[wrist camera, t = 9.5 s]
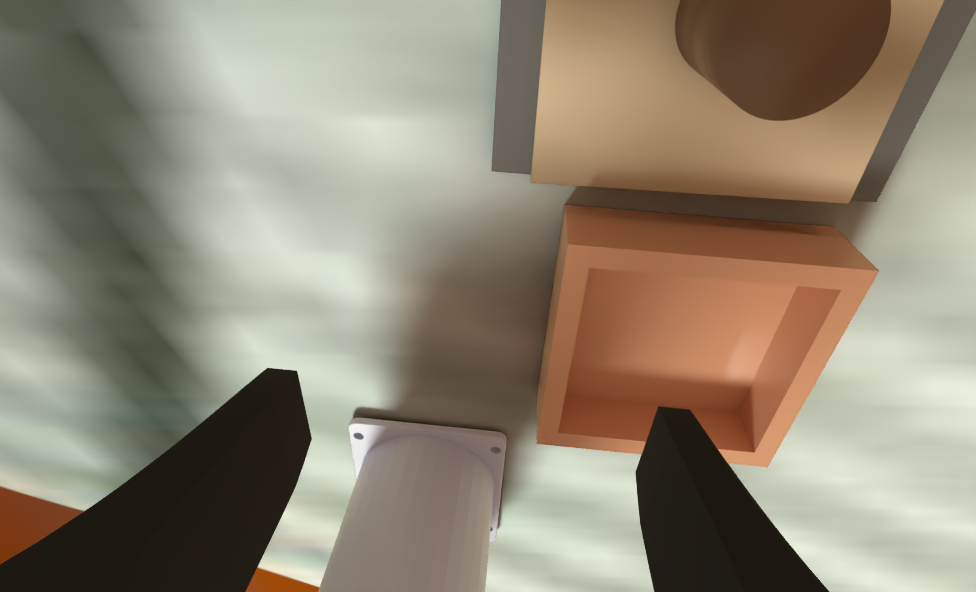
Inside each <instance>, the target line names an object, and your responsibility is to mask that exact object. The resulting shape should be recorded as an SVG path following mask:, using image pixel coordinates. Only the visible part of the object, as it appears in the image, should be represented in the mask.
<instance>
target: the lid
mask: <svg viewBox="0 0 976 592" xmlns="http://www.w3.org/2000/svg"><path fill="white" fill-rule="evenodd" d="M943 2H944V0H546V9H545V21H544V32H543V44H542V55H541V67H540V79H539V90H538V102H537V113H536V125H535V137H534V148H533V160H532V171H531V183H543V184H559V185H574V186H589V187H604V188H619V189H634V190H649V191H664V192H680V193H695V194H710V195H725V196H740V197H755V198H770V199H785V200H801V201H816V202H831V203H846V204H849V203H850V200H851V198H852V196H853V194H854V192H855V190H856V188H857V186H858V183H859V181H860V179H861V177H862V175H863V173H864V171H865V168H866V166H867V164H868V162H869V160H870V158H871V156H872V154H873V151H874V149H875V147H876V145H877V143H878V141H879V139H880V136H881V134H882V132H883V130H884V128H885V126H886V124H887V122H888V119H889V117H890V115H891V113H892V111H893V109H894V107H895V104H896V102H897V100H898V98H899V96H900V94H901V92H902V90H903V87H904V85H905V83H906V81H907V79H908V77H909V75H910V72H911V70H912V68H913V66H914V64H915V62H916V60H917V58H918V55H919V53H920V51H921V49H922V47H923V45H924V43H925V40H926V38H927V36H928V34H929V32H930V30H931V28H932V26H933V23H934V21H935V19H936V17H937V15H938V13H939V11H940V8H941V6H942V4H943Z"/></svg>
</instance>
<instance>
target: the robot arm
mask: <svg viewBox="0 0 976 592" xmlns="http://www.w3.org/2000/svg"><path fill="white" fill-rule="evenodd" d="M348 430H349V436H350V443H351V449H352V456H353V462H354V469H355V475H356V483H355V486H354V489H353V492H352V495H351V498H350V501H349V504H348V507H347V510H346V513H345V515H344V518H343V521H342V524H341V527H340V530H339V533H338V536H337V539H336V542H335V545H334V547H333V550H332V553H331V556H330V559H329V562H328V565H327V568H326V571H325V574H324V577H323V579H322V582H321V585H320V588H319V591H318V592H485V586H486V574H487V563H488V551H489V542H493V541H495V540H496V535H497V526H498V516H499V507H500V498H501V488H502V479H503V469H504V460H505V451H506V440H507V439H506V436H505V435H504V434H503V433H501V432H497V431H487V430H478V429H468V428H458V427H448V426H438V425H428V424H418V423H408V422H399V421H389V420H379V419H369V418H353V419H352V420H351V421H350V423H349V426H348ZM311 439H312V438H311V433H310V429H309V424H308V420H307V415H306V410H305V406H304V401H303V397H302V392H301V387H300V383H299V378H298V374H297V371H293V370H283V369H272V368H267V369H266V370H264V371H263V372H262V373H261V374H260V375H258V376H257V377H256V378H255V379H253V380H252V381H251V382H250V383H249V384H247V385H246V386H245V387H244V388H243V389H241V390H240V391H239V392H238V393H237V394H235V395H234V396H233V397H232V398H231V399H230V400H228V401H227V402H226V403H225V404H224V405H222V406H221V407H220V408H219V409H218V410H216V411H215V412H214V413H213V414H212V415H210V416H209V417H208V418H207V419H206V420H204V421H203V422H202V423H201V424H200V425H198V426H197V427H196V428H195V429H193V430H192V431H191V432H190V433H188V434H187V435H186V436H185V437H184V438H182V439H181V440H180V441H179V442H177V443H176V444H175V445H174V446H172V447H171V448H170V449H169V450H167V451H166V452H165V453H164V454H162V455H161V456H160V457H158V458H157V459H156V460H154V461H153V462H152V463H150V464H149V465H148V466H146V467H145V468H144V469H143V470H141V471H140V472H139V473H137V474H136V475H135V476H133V477H132V478H131V479H129V480H128V481H127V482H125V483H124V484H123V485H121V486H120V487H119V488H117V489H116V490H114V491H113V492H112V493H110V494H109V495H107V496H106V497H105V498H103V499H102V500H100V501H99V502H97V503H96V504H95V505H93V506H92V507H90V508H89V509H87V510H86V511H84V512H83V513H81V514H80V515H78V516H77V517H75V518H74V519H72V520H71V521H69V522H68V523H66V524H65V525H63V526H62V527H60V528H59V529H57V530H56V531H54V532H53V533H51V534H49V535H48V536H46V537H45V538H43V539H42V540H40V541H39V542H37V543H35V544H34V545H32V546H31V547H29V548H27V549H25V550H24V551H22V552H20V553H19V554H17V555H15V556H14V557H12V558H10V559H9V560H7V561H5V562H4V563H2V564H0V592H245V591H246V589H247V587H248V585H249V583H250V581H251V579H252V577H253V575H254V573H255V571H256V568H257V567H258V564H259V562H260V560H261V558H262V556H263V554H264V552H265V550H266V548H267V546H268V544H269V542H270V540H271V537H272V535H273V533H274V531H275V529H276V527H277V525H278V523H279V521H280V519H281V517H282V514H283V512H284V510H285V508H286V506H287V504H288V502H289V500H290V498H291V495H292V493H293V491H294V489H295V487H296V484H297V481H298V478H299V475H300V473H301V470H302V467H303V464H304V461H305V458H306V455H307V452H308V449H309V445H310V442H311ZM636 482H637V495H638V506H639V516H640V524H641V529H642V535H643V540H644V544H645V549H646V554H647V559H648V564H649V569H650V573H651V578H652V583H653V588H654V592H829V591H828V590H827V588H826V587H825V586H824V585H823V584H822V583H821V582H820V580H819V579H818V578H817V577H816V576H815V575H814V573H813V572H812V571H811V570H810V569H809V568H808V566H807V565H806V564H805V563H804V562H803V560H802V559H801V558H800V557H799V555H798V554H797V553H796V552H795V551H794V549H793V548H792V547H791V546H790V545H789V543H788V542H787V541H786V540H785V538H784V537H783V536H782V535H781V533H780V532H779V531H778V530H777V528H776V527H775V526H774V525H773V523H772V522H771V521H770V519H769V518H768V517H767V515H766V514H765V513H764V511H763V510H762V509H761V508H760V506H759V505H758V504H757V502H756V501H755V500H754V498H753V497H752V496H751V494H750V493H749V492H748V490H747V489H746V488H745V486H744V485H743V484H742V482H741V481H740V480H739V478H738V477H737V475H736V474H735V473H734V471H733V470H732V468H731V467H730V466H729V464H728V463H727V461H726V460H725V459H724V457H723V456H722V454H721V453H720V451H719V450H718V449H717V447H716V446H715V444H714V443H713V441H712V440H711V439H710V437H709V436H708V434H707V433H706V431H705V430H704V428H703V427H702V425H701V424H700V423H699V421H698V420H697V418H696V417H695V415H694V414H693V413H692V412H691V410H690V409H681V408H670V407H660V406H658V408H657V411H656V414H655V417H654V420H653V423H652V426H651V429H650V432H649V435H648V438H647V440H646V443H645V446H644V449H643V452H642V455H641V458H640V461H639V464H638V467H637V470H636Z"/></svg>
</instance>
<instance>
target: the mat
mask: <svg viewBox="0 0 976 592" xmlns="http://www.w3.org/2000/svg"><path fill="white" fill-rule="evenodd" d="M545 9H546V0H501V15H500V33H499V51H498V68H497V86H496V104H495V121H494V139H493V157H492V171H496V172H508V173H521V174H531V171H532V160H533V148H534V137H535V125H536V113H537V102H538V90H539V79H540V67H541V55H542V44H543V32H544V21H545ZM975 10H976V0H944V2H943V4H942V6H941V8H940V11H939V13H938V15H937V17H936V19H935V21H934V23H933V26H932V28H931V30H930V32H929V34H928V36H927V38H926V40H925V43H924V45H923V47H922V49H921V51H920V53H919V55H918V58H917V60H916V62H915V64H914V66H913V68H912V70H911V72H910V75H909V77H908V79H907V81H906V83H905V85H904V87H903V90H902V92H901V94H900V96H899V98H898V100H897V102H896V104H895V107H894V109H893V111H892V113H891V115H890V117H889V119H888V122H887V124H886V126H885V128H884V130H883V132H882V134H881V136H880V139H879V141H878V143H877V145H876V147H875V149H874V151H873V154H872V156H871V158H870V160H869V162H868V164H867V166H866V168H865V171H864V173H863V175H862V177H861V179H860V181H859V183H858V186H857V188H856V190H855V192H854V194H853V196H852V198H851V200H858V201H870V202H877V200H878V198H879V196H880V194H881V192H882V190H883V188H884V186H885V184H886V182H887V180H888V178H889V176H890V174H891V173H892V171H893V169H894V167H895V165H896V163H897V161H898V159H899V157H900V155H901V153H902V151H903V149H904V147H905V146H906V144H907V142H908V140H909V138H910V136H911V134H912V132H913V130H914V128H915V126H916V124H917V122H918V120H919V118H920V117H921V115H922V113H923V111H924V109H925V107H926V105H927V103H928V101H929V99H930V97H931V95H932V93H933V91H934V90H935V88H936V86H937V84H938V82H939V80H940V78H941V76H942V74H943V72H944V70H945V68H946V66H947V64H948V63H949V61H950V59H951V57H952V55H953V53H954V51H955V49H956V47H957V45H958V43H959V41H960V39H961V37H962V35H963V34H964V32H965V30H966V28H967V26H968V24H969V22H970V20H971V18H972V16H973V14H974V12H975Z"/></svg>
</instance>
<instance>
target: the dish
mask: <svg viewBox="0 0 976 592" xmlns="http://www.w3.org/2000/svg"><path fill="white" fill-rule="evenodd" d="M878 272H879V270H878V269H877V268H876V267H875V266H874V265H873V264H872V263H871V262H870V261H869V260H867V259H866V258H865V257H864V256H863V255H862V254H861V253H860V252H859V251H858V250H857V249H856V248H855V247H854V246H853V245H852V244H851V243H850V242H849V241H848V240H847V239H846V238H845V237H844V236H843V235H842V234H841V233H840V232H839V231H838V230H837V229H836V228H835V227H830V226H818V225H806V224H794V223H782V222H769V221H757V220H745V219H733V218H721V217H709V216H697V215H684V214H672V213H660V212H648V211H636V210H624V209H612V208H599V207H587V206H575V205H564V212H563V218H562V225H561V232H560V239H559V246H558V253H557V259H556V266H555V273H554V280H553V287H552V294H551V301H550V307H549V314H548V321H547V328H546V335H545V342H544V349H543V355H542V362H541V369H540V376H539V383H538V390H537V444H545V445H555V446H565V447H575V448H585V449H594V450H604V451H614V452H624V453H634V454H642V452H643V449H644V446H645V443H646V440H647V438H648V435H649V432H650V429H651V426H652V423H653V420H654V417H655V414H656V411H657V408H658V406H660V407H670V408H681V409H690V410H691V412H692V413H693V414H694V415H695V417H696V418H697V420H698V421H699V423H700V424H701V425H702V427H703V428H704V430H705V431H706V433H707V434H708V436H709V437H710V439H711V440H712V441H713V443H714V444H715V446H716V447H717V449H718V450H719V451H720V453H721V454H722V456H723V457H724V459H725V460H726V461H727V463H732V464H741V465H751V466H761V467H768V466H769V464H770V462H771V460H772V459H773V457H774V455H775V453H776V452H777V450H778V448H779V446H780V445H781V443H782V441H783V439H784V438H785V436H786V434H787V432H788V431H789V429H790V427H791V425H792V423H793V422H794V420H795V418H796V416H797V415H798V413H799V411H800V409H801V408H802V406H803V404H804V402H805V401H806V399H807V397H808V395H809V394H810V392H811V390H812V388H813V387H814V385H815V383H816V381H817V379H818V378H819V376H820V374H821V372H822V371H823V369H824V367H825V365H826V364H827V362H828V360H829V358H830V357H831V355H832V353H833V351H834V350H835V348H836V346H837V344H838V343H839V341H840V339H841V337H842V336H843V334H844V332H845V330H846V328H847V327H848V325H849V323H850V321H851V320H852V318H853V316H854V314H855V313H856V311H857V309H858V307H859V306H860V304H861V302H862V300H863V299H864V297H865V295H866V293H867V292H868V290H869V288H870V286H871V284H872V283H873V281H874V279H875V277H876V276H877V274H878Z"/></svg>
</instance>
